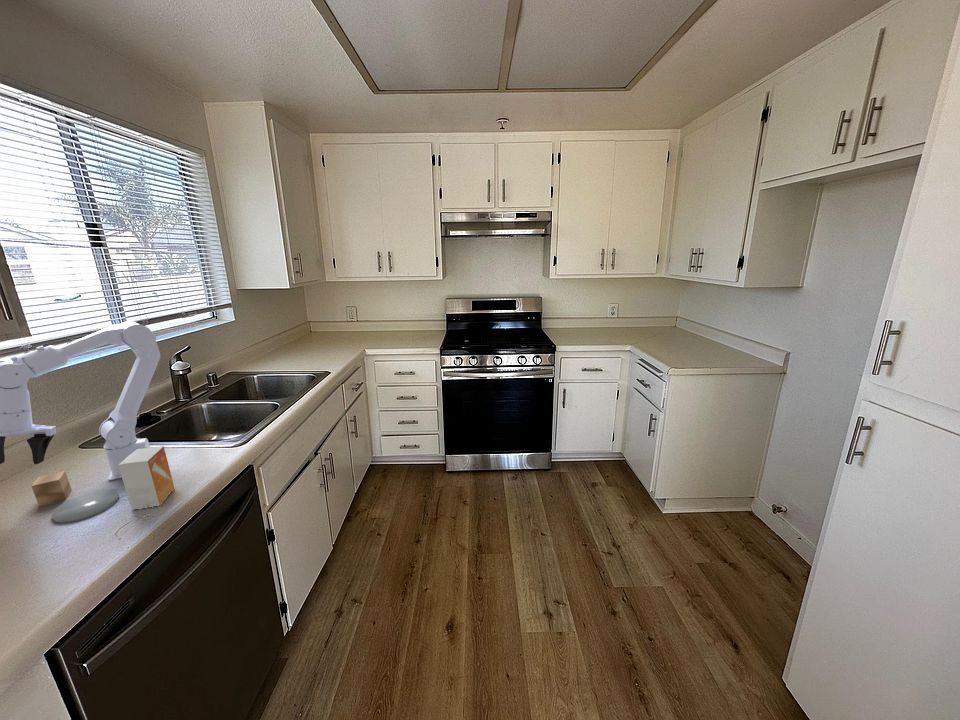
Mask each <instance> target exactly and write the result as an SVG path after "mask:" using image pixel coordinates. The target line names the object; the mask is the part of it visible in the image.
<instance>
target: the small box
mask: <svg viewBox="0 0 960 720" xmlns="http://www.w3.org/2000/svg"><path fill="white" fill-rule="evenodd" d="M118 466H119V470H120V473H121V476H122V478H121V479H122V482H123V485H124V489H125V493H126V496H127V499H128V503H129V505H130V509H131V511H135V510H134V509H139V510H142V509H141V508H146V507H152V508H154V507H153V506H158V507H160V506H159V505H161V506H162V504H163V503H164V502H165V501H166V499H167V498H168V497H169V496H170V495H169V493H172V492H173V491H174V490H175V489H174V488H175V485H174V482H173V481H174V480H173V477H172V473H171V470H170V465H169V461H168V457H167V454H166V450H165V446H163V445H162V446H154V447H153V446H152V447H151V446H150V448H143V449H136V450H135V451H134V452H133V453H132V454H130V455H129V456H128V457H126V458H125V459H124V460H123V461H122V462H121V463H120V464H119V465H118ZM173 489H174V490H173ZM172 490H173V491H172ZM171 491H172V492H171ZM168 495H169V496H168ZM167 496H168V497H167ZM166 497H167V498H166ZM165 498H166V499H165ZM164 500H165V501H164ZM163 501H164V502H163ZM162 502H163V503H162ZM161 503H162V504H161ZM146 509H147V508H146Z"/></svg>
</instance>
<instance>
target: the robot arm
mask: <svg viewBox="0 0 960 720" xmlns="http://www.w3.org/2000/svg"><path fill="white" fill-rule="evenodd" d="M123 343H124V344H125V345H127V346H128V347H129V348H130V350H131V351H132V352H133V353H134V355H135V357H136V358H135V361H134V363H133V365H132V368H131V370H130V372H129V375H128V377H127V379H126V381H125V384H124V386H123V389H122V392H121V393H120V396H119V399H118V400H117V403H116V405H115V407H114V409H113V410H112V411H111V412H110V413H109V415H108V417H107V419H105V420H104V421H103V422H102V423H101V424H100V425H99V429H98V433H99V434H100V436H101V437H102V438H104V439H105V442H104V444H103V449H104V453H105V455H106V459H107V461H108V465H109V468H110V473H109V476H108V478H107V480H108V481H109V482H110V481H113V480H117V479H122V476H121V473H120V470H119V466H118V465H119V464H120V463H121V462H122V461H123V460H124V459H125V458H126V457H128V456H129V455H130V454H132V453H133V452H134V451H135V450H136V449H143V448H151V445H150V442H149V440H148V438H147V437H145V438H144V437H143V438H138V437H137V436H136V435H137V433H136V430H135V429H136V425H137V414H138V412H139V409H140V408H141V405H142V402H143V400H144V397H145V395H146V394H147V390H148V388H149V386H150V383H151V381H152V379H153V376H154V374H155V371H156V369H157V366H158V365H159V362H160V360H161V352H160V349H159V346H158V343H157V336H156V335H155V334H154V332H153V331H152V330H151V329H150V328H149V327H147V326H146V325H143V324H140V323H138V322H135V321H131V320H129V321H123V322H121V323H119V324H114V325H110V326H108V327H105V328H102V329H100V330H97V331H96V332H93V333H91V334H88V335H86V336H83V337H82V338H79V339H76V340H74V341H71V342H69V343H67V344H64V345H62V346H55V345H48V346H47V345H46V346H45V347H44V346H43V345H40V346H37V347H35V349H36V350H33V351H31V352H29V353H26V354H23V355H20V356H18V357H17V356H16V355H14V356H11V357H10V361H6V360H5V361H1V362H0V465H2V464H3V463H5V459H6V458H5V457H6V455H5V441H6V437H13V436H14V437H16V436H17V437H20V436H22V437H24V436H32V437H30V438H28V439H26V442H27V444H28V446H29V448H30V450H31V453H32V462H33V465H38V464H40V463H42V462H44V460H45V455H46V452H47V450H48V447H49V445H50V443H51V441H52V439H53V438H54V437H55V435H56V434H57V426H56V425H41V424H34V423H33V413H32V405H31V396H30V391H29V389H28V382H29V381H30V378H31V379H32V378H38V377H39V376H42V375H44V374H47V373H49V372H52V371H54V370H57V369H59V368H61V367H64V366H66V365H68V362H69V359H71V358H73V357H75V356H78V355H80V354H83V353H86V352H89V351H92V350H94V349H97V348H100V347H103V346H105V345H113V346H116V345H117V346H123Z"/></svg>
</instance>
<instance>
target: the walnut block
mask: <svg viewBox="0 0 960 720" xmlns="http://www.w3.org/2000/svg"><path fill="white" fill-rule="evenodd" d="M31 490H32V491H33V494H34V496H35V499H36V502H37V505H38V507H43V506H46V505H50V504H54V503H57V502H58V503H59V502H61V501H67V499H68V498H69V496H70V494H71V492H72V486H71V484H70V482H69V478H68V475H67V472H66V471H65V470H63V471H62V470H61V471H58V472H54V473H50V474H49V473H48V474H45V475H40V476H38V477H36V479H35V481H34V482H33V483H32V485H31Z"/></svg>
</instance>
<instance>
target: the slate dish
mask: <svg viewBox="0 0 960 720" xmlns="http://www.w3.org/2000/svg"><path fill="white" fill-rule="evenodd" d="M119 498H120V496H119V493H118V491H117V490H116V489H112V488H104V489H98V490H93V491H90V492H86V493H83V494H80V495H77V496H75V497H73V498H70V499H69V500H65V502H63V503H61V504H60V505H58V506H57V507H56V508H55V509H54V510H53V511H52V513H51V516H52V520H53V521H54V522H56V523H61V524H62V523H65V524H66V523H72V522H74V523H75V522H77V521H81V520H85V519H87V518H90V517H93V516H96V515H98V514H100V513H102V512H104V511H106V510H107V508H108V509H110V508H111V507H112V506H114V505H115V504H116V503H117V502H118V500H119ZM110 506H111V507H110ZM105 509H106V510H105Z"/></svg>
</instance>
